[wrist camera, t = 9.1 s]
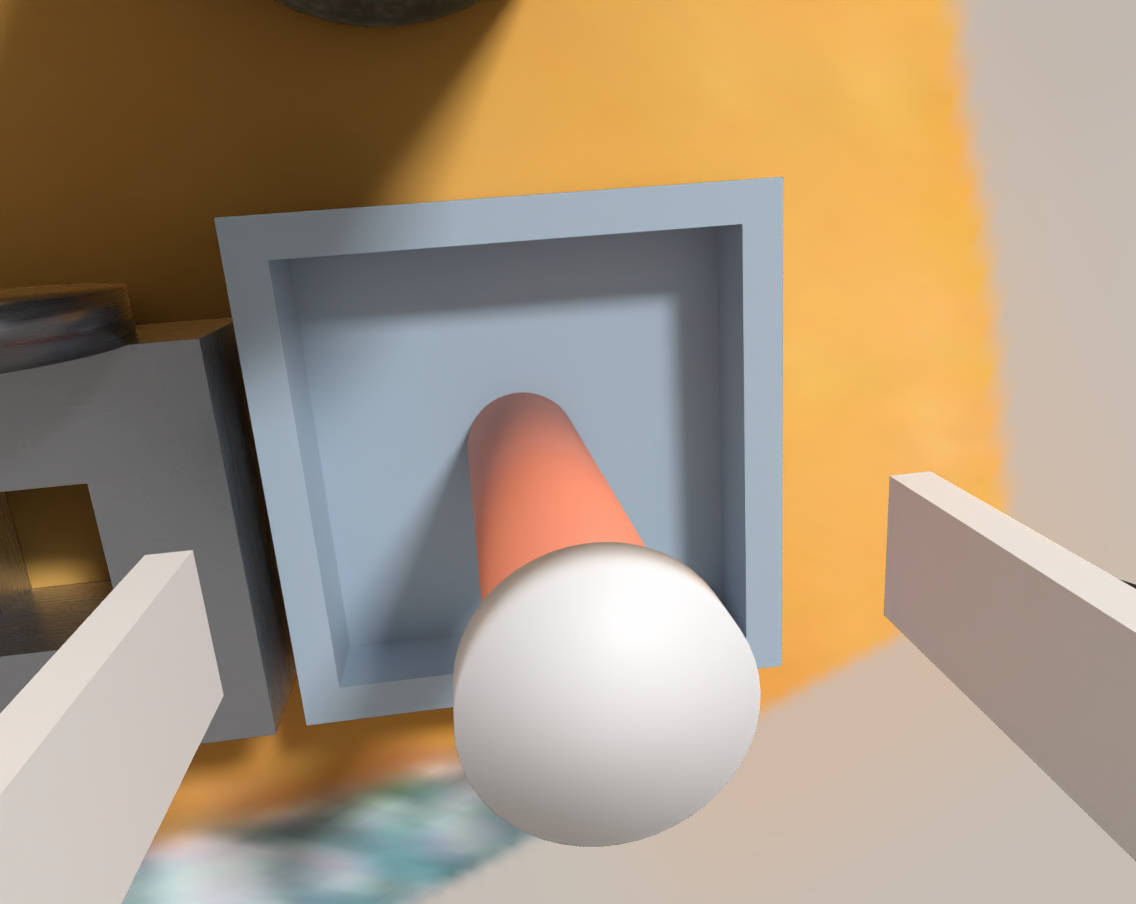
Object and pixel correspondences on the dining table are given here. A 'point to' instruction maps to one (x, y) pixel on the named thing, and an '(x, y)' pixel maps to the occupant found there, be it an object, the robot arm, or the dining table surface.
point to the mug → (377, 10)
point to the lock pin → (587, 649)
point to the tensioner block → (140, 482)
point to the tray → (489, 371)
